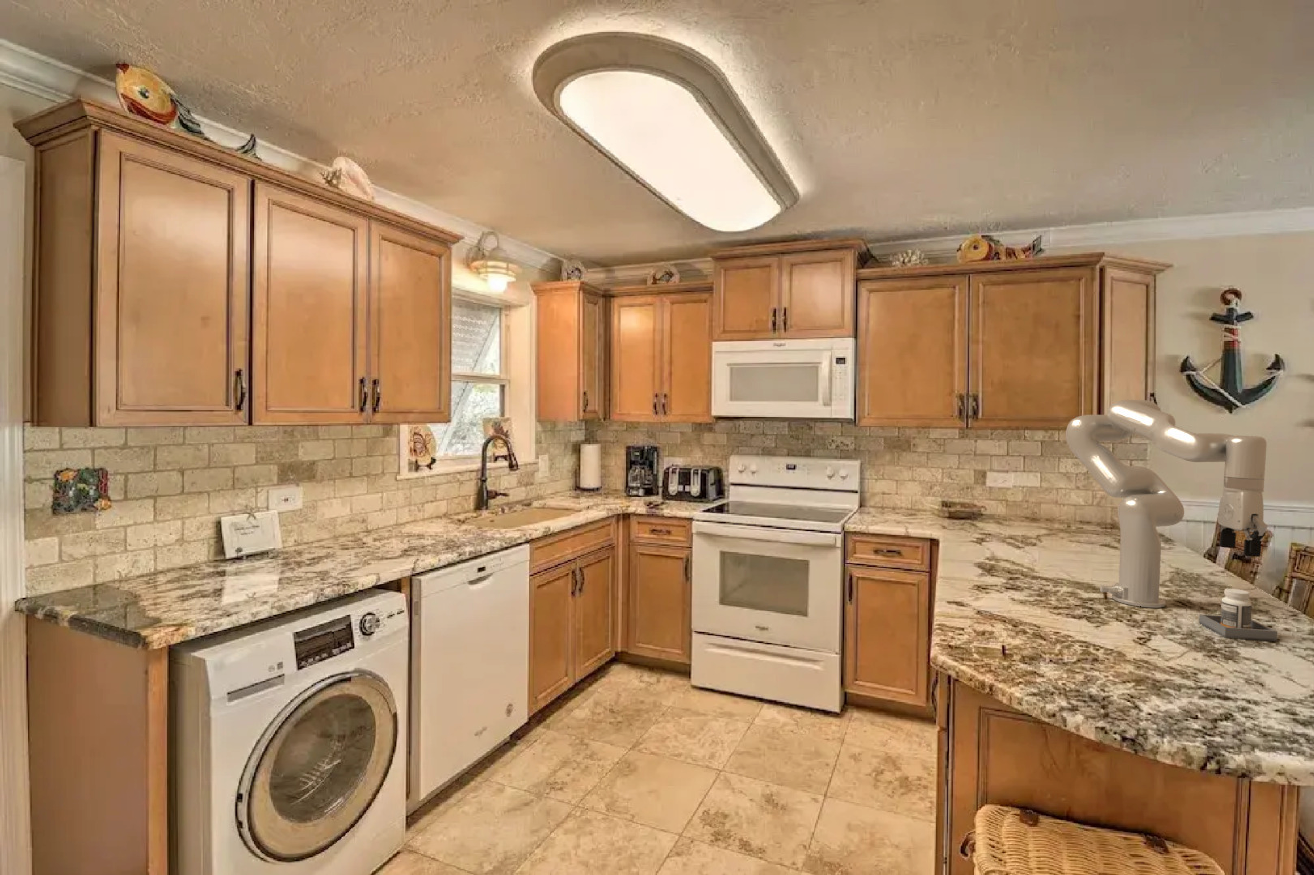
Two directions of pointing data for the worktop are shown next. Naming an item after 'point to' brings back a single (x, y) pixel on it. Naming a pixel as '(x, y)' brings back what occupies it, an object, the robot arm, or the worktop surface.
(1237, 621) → the pill bottle
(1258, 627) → the tray
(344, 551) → the worktop surface
